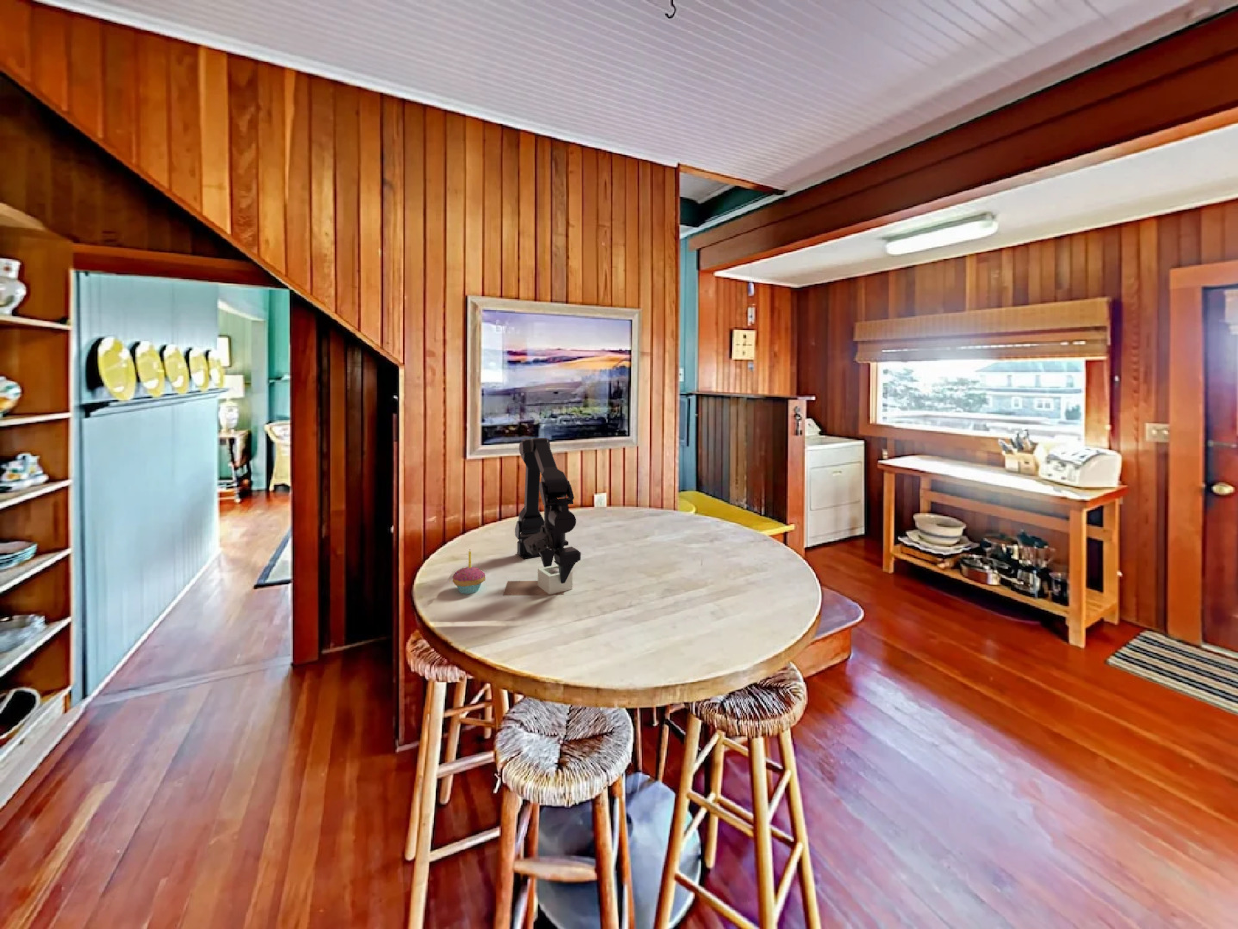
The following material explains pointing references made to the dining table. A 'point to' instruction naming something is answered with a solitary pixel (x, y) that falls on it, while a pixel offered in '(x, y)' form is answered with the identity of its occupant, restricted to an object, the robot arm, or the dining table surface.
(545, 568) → the square hollow sleeve
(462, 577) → the cupcake
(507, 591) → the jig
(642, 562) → the dining table surface
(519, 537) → the robot arm
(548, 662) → the dining table surface
